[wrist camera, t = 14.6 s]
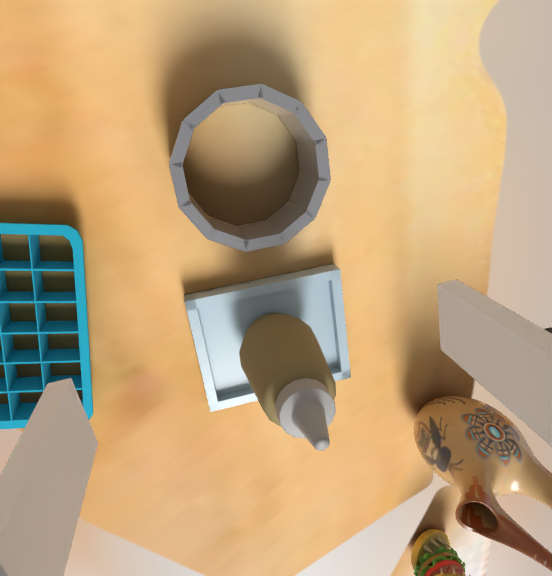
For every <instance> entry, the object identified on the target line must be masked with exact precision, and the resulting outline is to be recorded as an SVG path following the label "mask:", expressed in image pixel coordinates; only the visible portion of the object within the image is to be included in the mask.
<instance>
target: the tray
mask: <svg viewBox="0 0 552 576" xmlns="http://www.w3.org/2000/svg"><path fill="white" fill-rule="evenodd" d="M184 297H185V305H186V309H187V313H188V318H189V322H190V326H191V330H192V335H193V339H194V343H195V348H196V352H197V356H198V360H199V365H200V369H201V373H202V378H203V382H204V386H205V390H206V395H207V399H208V403H209V408H210V412H212V411H216V410H220V409H224V408H229V407H233V406H237V405H241V404H245V403H249V402H253V401H257V400H258V399H257V397H256V395H255V393H254V391H253V389H252V387H251V385H250V383H249V381H248V379H247V377H246V375H245V373H244V371H243V369H242V367H241V363H240V356H239V351H240V348H241V344H242V341H243V338H244V336H245V333H246V331H247V329H248V327H249V326H250V325H251V324H252V322H253V321H254V320H255V319H257V318H258V317H260V316H262V315H263V314H267V313H273V312H276V313H281V314H286V315H290V316H293V317H297V318H299V319H300V320H302V321H303V322H305V323H306V324H307V325H309V326H310V327H311V329H312V331H313V333H314V335H315V336H316V338H317V340H318V343H319V345H320V347H321V350H322V352H323V354H324V357H325V359H326V361H327V364H328V366H329V368H330V371H331V373H332V376H333V378H334V380H335V381H338V380H342V379H346V378H350V377H351V375H350V365H349V354H348V344H347V334H346V324H345V314H344V304H343V293H342V283H341V273H340V269H339V268H338V267H337V266H336V265H335V264H331V265H326V266H321V267H316V268H312V269H307V270H302V271H297V272H292V273H287V274H282V275H278V276H273V277H268V278H263V279H258V280H253V281H249V282H244V283H239V284H234V285H229V286H224V287H220V288H215V289H210V290H205V291H200V292H195V293H191V294H186V295H184Z"/></svg>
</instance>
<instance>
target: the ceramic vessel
mask: <svg viewBox="0 0 552 576" xmlns="http://www.w3.org/2000/svg"><path fill="white" fill-rule="evenodd" d="M414 436H415V441H416V444H417V447H418V449H419V451H420V453H421V455H422V457H423V458H424V460H425V461H426V462H427V464H428V465H429V466H430V467H431V468H432V470H433V471H434V472H435V473H437V474H438V475H439V476H440V477H441V478H442V479H444V480H445V481H447V482H448V483H450V484H451V485H453V486H455V487H456V488H458V489H460V491H461V498H460V501H459V504H458V506H457V509H456V519H457V521H458V523H459V524H460V525H461V526H462V527H464V528H465V529H467V530H470V531H473V532H476V533H478V534H480V535H483V536H485V537H487V538H489V539H492V540H495V541H497V542H500V543H502V544H505V545H507V546H509V547H511V548H514V549H516V550H518V551H520V552H522V553H523V554H525V555H527V556H529V557H531V558H532V559H534V560H536V561H537V562H539V563H541V564H542V565H544V566H545V567H547V568H548V569H549V570H551V571H552V553H551V552H549V551H548V550H547V549H546V548H544V547H543V546H542V545H541V544H540V543H539V542H537V541H536V540H535V539H534V538H533V537H532V536H531V535H529V534H528V533H527V532H526V531H525V530H524V529H523V528H522V527H521V526H519V525H518V524H517V523H516V522H515V521H514V520H513V519H512V518H511V517H510V516H509V515H508V514H506V512H505V511H504V510H503V509H502V508H501V506H500V505H499V504H498V502H497V500H496V498H495V497H499V496H504V495H508V494H510V493H516V494H522V495H526V496H529V497H531V498H534V499H536V500H538V501H540V502H542V503H544V504H545V505H547V506H548V507H550V508H551V509H552V473H551V472H549V471H548V470H547V469H546V468H545V467H544V466H543V465H542V464H541V463H540V462H539V461H538V460H537V459H536V457H535V456H534V454H533V453H532V451H531V449H530V448H529V446H528V444H527V442H526V440H525V438H524V437H523V435H522V433H521V432H520V431H519V429H518V428H517V427H516V426H515V425H514V424H513V423H512V422H511V421H510V420H509V419H508V418H507V417H506V416H504V415H503V414H502V413H501V412H499V411H498V410H496V409H495V408H493V407H491V406H489V405H487V404H485V403H483V402H480V401H478V400H474V399H471V398H467V397H461V396H445V397H440V398H437V399H434V400H432V401H430V402H428V403H427V404H425V405H424V406H423V407H422V408H421V409H420V411H419V412H418V414H417V416H416V419H415V423H414Z"/></svg>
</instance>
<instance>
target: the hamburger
mask: <svg viewBox="0 0 552 576" xmlns="http://www.w3.org/2000/svg"><path fill="white" fill-rule="evenodd" d="M411 562H412V566H413V569H414V574H415V576H465V573H464V572H465V563H464V562H463V564H461V562H462V561H461V560H460V558H458V555H457V552H456V551H454V550H453V548H451V549H450V543H449V540H448V537H447V535H446V534H445V533H444V532H442V531H440V530H437V529H429V530H427V531H425V532H423V533H422V534H421V535H420V536H419V537H418V538H417V540H416V542H415V543H414V546H413V549H412V554H411ZM469 576H470V574H469Z"/></svg>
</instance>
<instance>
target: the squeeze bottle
mask: <svg viewBox="0 0 552 576" xmlns="http://www.w3.org/2000/svg"><path fill="white" fill-rule="evenodd" d="M239 356H240V363H241V367H242V369H243V371H244V373H245V375H246V377H247V379H248V381H249V383H250V385H251V387H252V389H253V391H254V393H255V395H256V397H257V399H258V401H259V403H260V405H261V407H262V409H263V410H264V412H265V413H266V415H267V416H268V418H269V419H270V420H271V421H272V422H274V423H276V424H277V425H279V426H281V427H282V428H283V429H284V431H285V432H286V433H288V434H290V435H291V436H293V437H298V438H307V440H308V441H309V442H310V443H311V444H312V445H313V447H314V448H315V449H317V450H320V451H321V450H324V449H326V448H327V447H328V446H329V444H330V442H329V435H328V429H327V427H328V426H329V425H330V423H331V422H332V420H333V418H334V415H335V412H336V411H335V402H334V398H335V396H336V387H335V380H334V378H333V376H332V373H331V371H330V368H329V366H328V364H327V361H326V359H325V357H324V354H323V352H322V350H321V347H320V345H319V343H318V340H317V338H316V336H315V335H314V333H313V331H312V329H311V327H310V326H309V325H307V324H306V323H305V322H303V321H302V320H300V319H299V318H297V317H293V316H290V315H286V314H281V313H276V312H273V313H267V314H263V315H262V316H260V317H258V318H257V319H255V320H254V321H253V322H252V324H251V325H250V326H249V327H248V329H247V331H246V333H245V336H244V338H243V341H242V344H241V348H240V351H239Z"/></svg>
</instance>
